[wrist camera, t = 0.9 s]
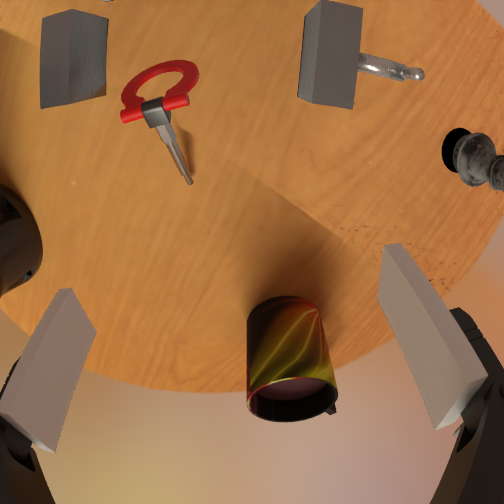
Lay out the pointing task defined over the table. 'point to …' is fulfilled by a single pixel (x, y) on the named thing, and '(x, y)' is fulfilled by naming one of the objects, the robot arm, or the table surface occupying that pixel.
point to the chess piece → (473, 158)
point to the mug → (288, 362)
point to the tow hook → (162, 105)
